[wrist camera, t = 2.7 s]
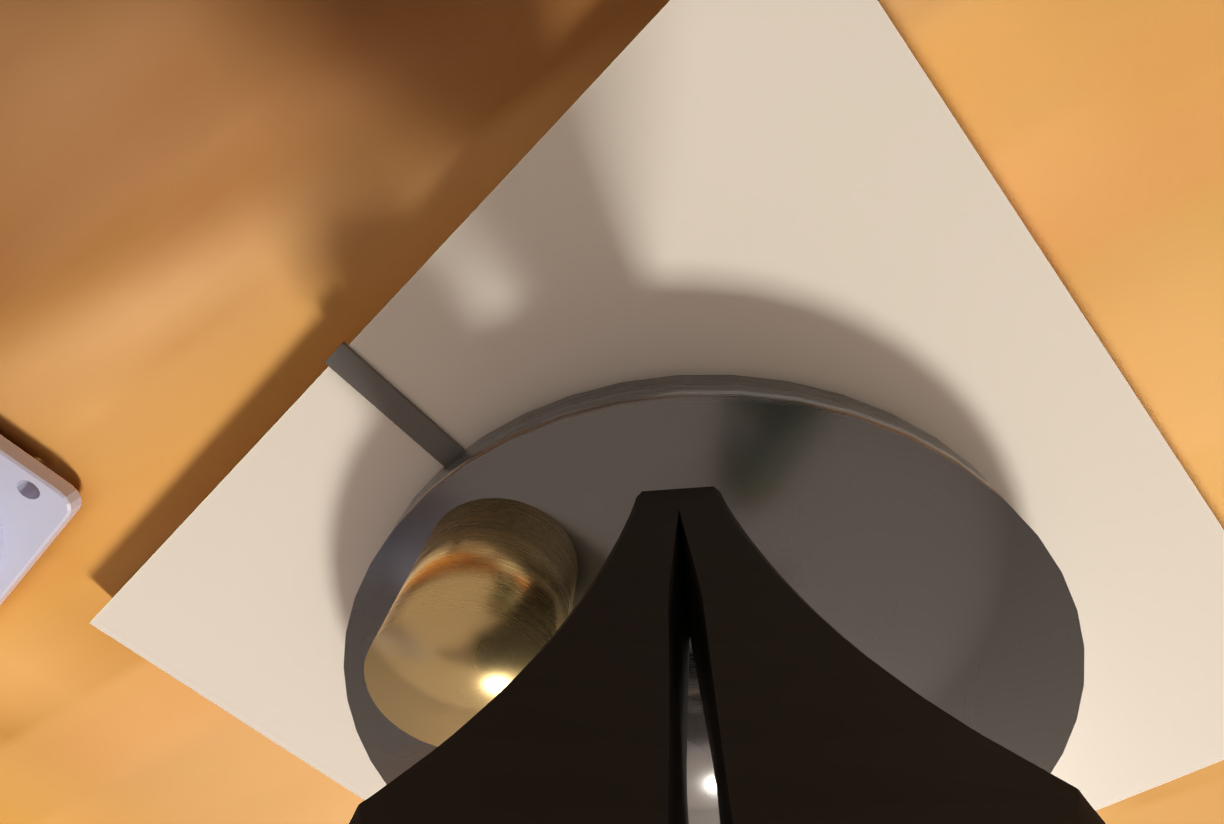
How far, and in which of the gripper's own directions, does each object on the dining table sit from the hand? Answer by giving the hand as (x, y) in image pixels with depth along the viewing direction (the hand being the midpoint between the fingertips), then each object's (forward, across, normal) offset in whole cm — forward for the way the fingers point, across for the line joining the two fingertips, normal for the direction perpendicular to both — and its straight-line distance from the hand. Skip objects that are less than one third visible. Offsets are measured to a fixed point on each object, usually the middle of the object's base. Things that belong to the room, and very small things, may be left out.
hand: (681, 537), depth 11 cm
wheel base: (+3, 0, +6) cm, 7 cm away
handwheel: (+2, 0, +6) cm, 6 cm away
